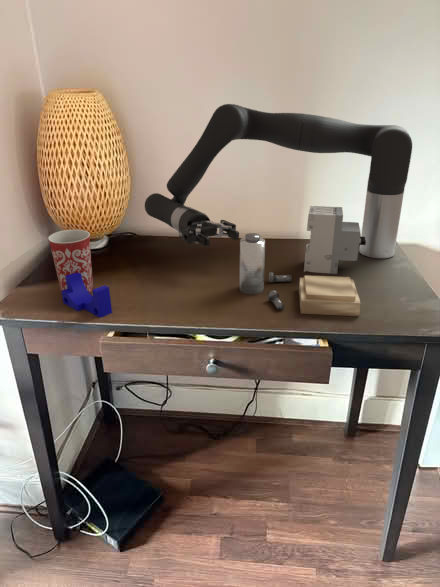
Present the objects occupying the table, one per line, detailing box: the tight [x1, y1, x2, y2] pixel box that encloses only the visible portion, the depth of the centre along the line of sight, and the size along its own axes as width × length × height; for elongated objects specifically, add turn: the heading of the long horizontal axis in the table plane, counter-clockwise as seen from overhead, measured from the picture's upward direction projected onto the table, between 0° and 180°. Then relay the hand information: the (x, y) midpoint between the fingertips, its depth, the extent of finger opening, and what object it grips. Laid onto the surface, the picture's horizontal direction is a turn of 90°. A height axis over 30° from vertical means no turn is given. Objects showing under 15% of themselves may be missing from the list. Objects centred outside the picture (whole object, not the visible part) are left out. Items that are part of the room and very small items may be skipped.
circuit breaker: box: [303, 205, 366, 275], centre depth 119 cm, size 8×14×15 cm, turn 78°
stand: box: [298, 275, 362, 317], centre depth 104 cm, size 12×12×4 cm
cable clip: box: [60, 273, 113, 319], centre depth 102 cm, size 12×4×6 cm, turn 47°
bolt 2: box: [267, 289, 285, 311], centre depth 103 cm, size 5×2×2 cm, turn 13°
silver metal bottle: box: [239, 232, 266, 295], centre depth 108 cm, size 6×6×13 cm
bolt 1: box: [268, 272, 293, 283], centre depth 114 cm, size 5×2×2 cm, turn 93°
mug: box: [47, 229, 94, 294], centre depth 110 cm, size 13×9×14 cm
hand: (223, 239), depth 115 cm, fingers open, 8 cm apart
